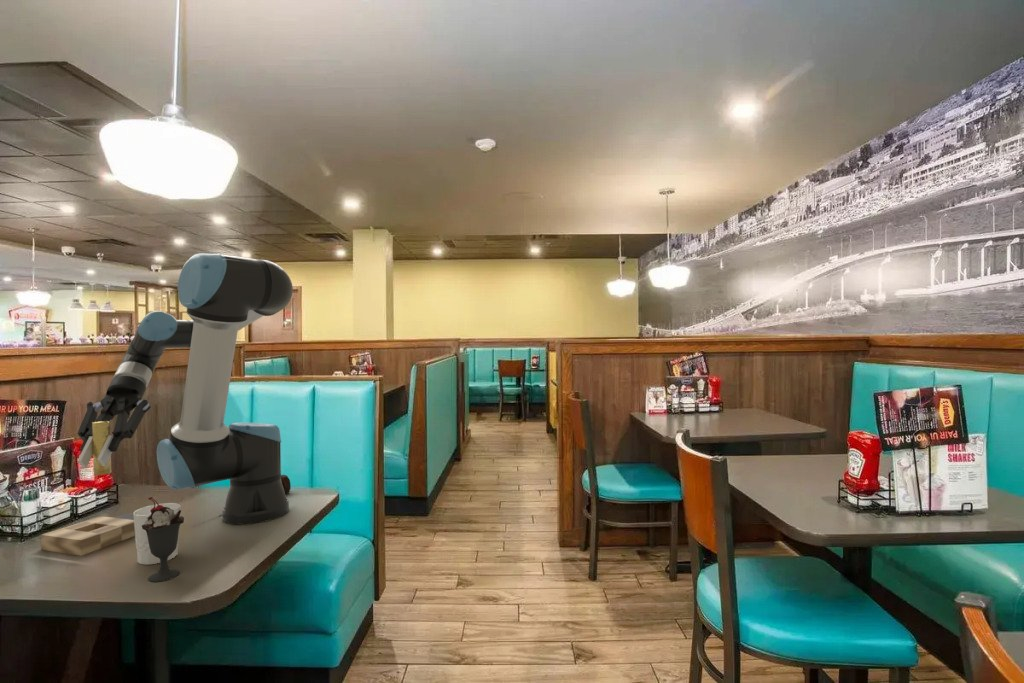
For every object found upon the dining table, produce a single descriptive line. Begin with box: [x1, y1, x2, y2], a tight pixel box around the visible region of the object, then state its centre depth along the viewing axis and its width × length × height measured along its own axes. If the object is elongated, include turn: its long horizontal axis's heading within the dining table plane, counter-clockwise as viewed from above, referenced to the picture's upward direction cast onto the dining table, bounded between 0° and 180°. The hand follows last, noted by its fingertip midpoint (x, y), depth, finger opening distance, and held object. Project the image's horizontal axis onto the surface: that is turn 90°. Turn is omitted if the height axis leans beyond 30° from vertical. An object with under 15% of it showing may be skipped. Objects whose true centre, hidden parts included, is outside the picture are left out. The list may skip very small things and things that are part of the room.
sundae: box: [141, 496, 185, 583], centre depth 97 cm, size 7×7×15 cm
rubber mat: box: [112, 513, 134, 520], centre depth 127 cm, size 10×8×1 cm
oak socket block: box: [40, 516, 135, 556], centre depth 113 cm, size 12×12×4 cm
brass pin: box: [92, 420, 112, 476], centre depth 120 cm, size 3×3×12 cm
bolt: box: [281, 474, 292, 494], centre depth 145 cm, size 6×5×15 cm
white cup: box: [132, 502, 181, 566], centre depth 105 cm, size 8×8×10 cm
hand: (91, 463), depth 116 cm, fingers closed on brass pin, 3 cm apart
